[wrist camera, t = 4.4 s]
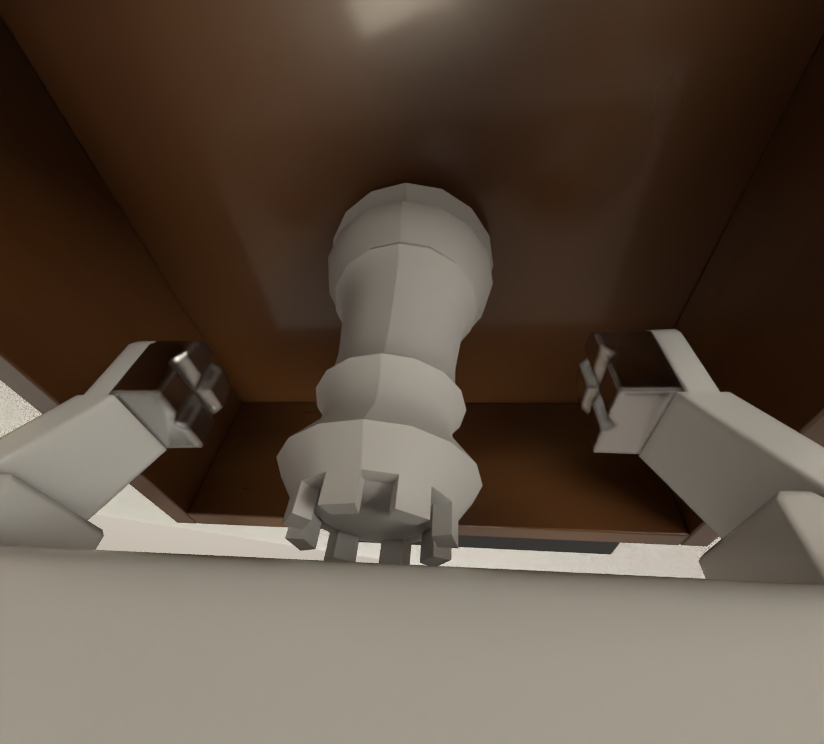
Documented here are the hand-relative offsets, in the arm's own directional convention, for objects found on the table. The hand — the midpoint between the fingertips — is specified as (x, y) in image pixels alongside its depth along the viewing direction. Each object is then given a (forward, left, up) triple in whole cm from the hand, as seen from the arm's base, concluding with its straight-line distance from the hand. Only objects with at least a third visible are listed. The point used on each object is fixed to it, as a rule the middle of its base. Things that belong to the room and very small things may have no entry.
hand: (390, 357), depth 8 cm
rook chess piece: (0, 0, -4) cm, 4 cm away
